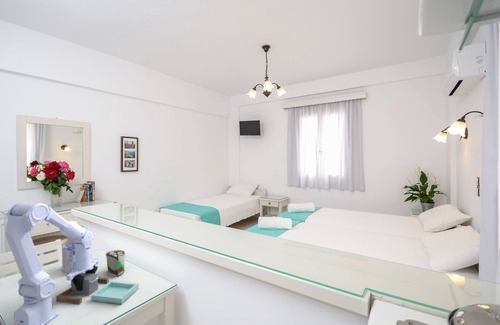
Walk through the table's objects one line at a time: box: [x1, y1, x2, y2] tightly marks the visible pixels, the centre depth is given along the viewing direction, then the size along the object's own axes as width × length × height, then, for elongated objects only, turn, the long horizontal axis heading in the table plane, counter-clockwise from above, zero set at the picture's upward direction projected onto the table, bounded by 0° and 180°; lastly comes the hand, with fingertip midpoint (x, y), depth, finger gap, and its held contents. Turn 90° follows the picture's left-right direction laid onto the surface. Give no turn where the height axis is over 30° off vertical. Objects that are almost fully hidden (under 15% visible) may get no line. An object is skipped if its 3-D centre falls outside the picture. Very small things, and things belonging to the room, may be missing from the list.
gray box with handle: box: [70, 272, 99, 297], centre depth 101 cm, size 4×10×7 cm, turn 80°
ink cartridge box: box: [61, 242, 77, 274], centre depth 118 cm, size 10×6×14 cm, turn 66°
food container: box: [105, 249, 127, 278], centre depth 117 cm, size 12×6×10 cm, turn 59°
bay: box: [55, 276, 110, 305], centre depth 101 cm, size 15×11×2 cm
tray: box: [90, 280, 139, 305], centre depth 98 cm, size 10×14×2 cm
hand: (84, 287), depth 101 cm, fingers closed on gray box with handle, 4 cm apart
